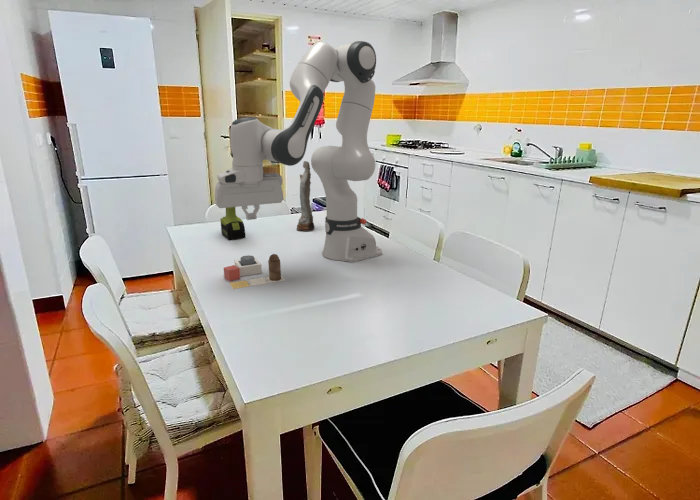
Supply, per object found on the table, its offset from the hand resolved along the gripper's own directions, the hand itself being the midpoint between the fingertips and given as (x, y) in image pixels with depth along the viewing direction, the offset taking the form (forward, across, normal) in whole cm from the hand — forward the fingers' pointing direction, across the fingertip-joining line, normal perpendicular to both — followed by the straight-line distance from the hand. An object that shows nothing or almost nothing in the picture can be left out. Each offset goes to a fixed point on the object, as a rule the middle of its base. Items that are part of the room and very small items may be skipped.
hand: (251, 219), depth 131 cm
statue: (+19, -34, -45) cm, 59 cm away
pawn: (+18, -4, +8) cm, 20 cm away
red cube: (+18, +8, +2) cm, 19 cm away
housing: (+18, +2, -2) cm, 18 cm away
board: (+19, +1, +3) cm, 19 cm away
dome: (+17, +2, -2) cm, 17 cm away
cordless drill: (+19, -3, -42) cm, 46 cm away
